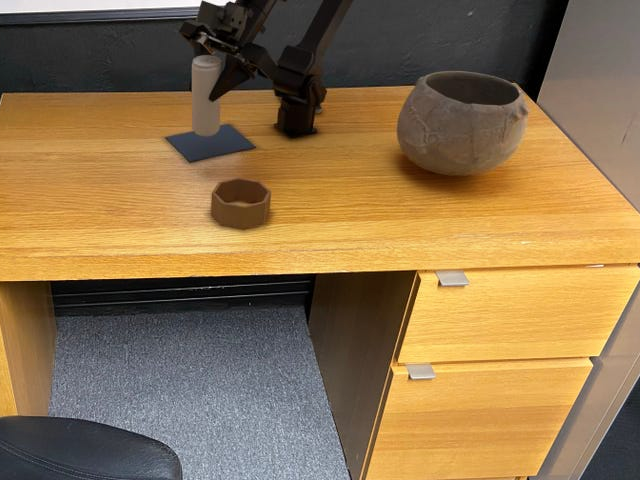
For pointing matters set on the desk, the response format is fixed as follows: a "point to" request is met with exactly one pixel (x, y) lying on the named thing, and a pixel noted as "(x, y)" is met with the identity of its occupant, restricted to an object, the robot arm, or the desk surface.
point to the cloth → (210, 143)
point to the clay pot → (462, 122)
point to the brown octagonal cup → (238, 213)
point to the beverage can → (205, 95)
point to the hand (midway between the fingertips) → (200, 95)
